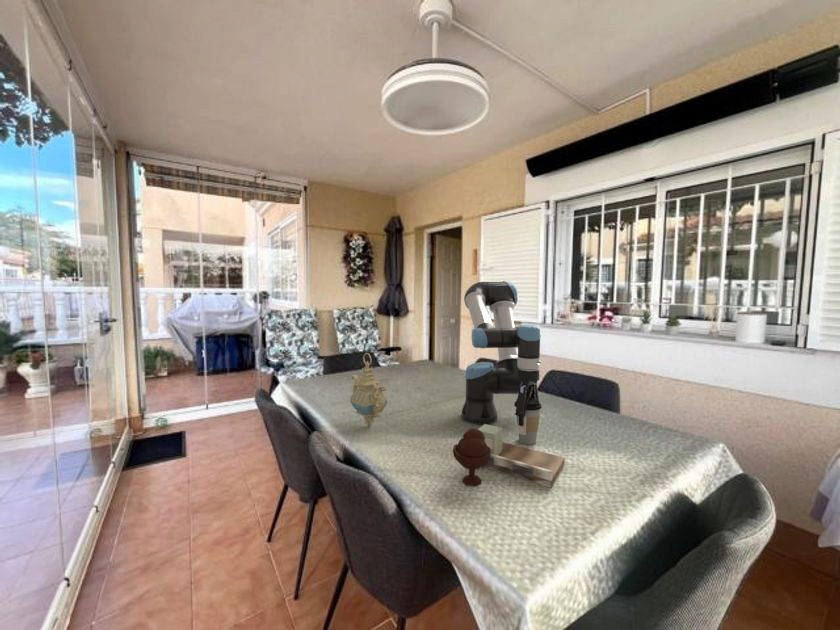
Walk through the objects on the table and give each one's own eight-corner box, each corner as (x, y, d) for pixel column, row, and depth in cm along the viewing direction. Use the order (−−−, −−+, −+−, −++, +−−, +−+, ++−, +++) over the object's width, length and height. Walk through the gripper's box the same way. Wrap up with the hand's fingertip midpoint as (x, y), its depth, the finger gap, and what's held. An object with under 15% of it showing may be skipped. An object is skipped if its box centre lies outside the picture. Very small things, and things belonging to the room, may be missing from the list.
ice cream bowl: (449, 472, 107) (449, 424, 106) (485, 470, 108) (486, 422, 107) (456, 492, 97) (456, 439, 95) (496, 490, 98) (496, 437, 96)
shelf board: (472, 464, 112) (472, 450, 112) (492, 445, 125) (492, 432, 125) (550, 488, 99) (551, 472, 98) (564, 463, 112) (564, 450, 111)
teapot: (342, 421, 148) (340, 350, 146) (366, 415, 156) (364, 347, 153) (372, 440, 130) (370, 359, 127) (397, 432, 137) (396, 355, 135)
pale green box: (476, 454, 114) (476, 430, 114) (484, 447, 119) (484, 424, 119) (494, 459, 111) (494, 434, 110) (501, 451, 116) (501, 427, 115)
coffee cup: (542, 447, 123) (543, 405, 122) (514, 445, 125) (515, 403, 124) (539, 436, 132) (539, 397, 131) (513, 434, 134) (513, 395, 133)
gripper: (528, 377, 114) (527, 442, 116) (548, 363, 134) (547, 419, 136) (505, 374, 119) (505, 437, 120) (528, 361, 138) (527, 415, 140)
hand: (527, 427), depth 128 cm, fingers open, 12 cm apart
